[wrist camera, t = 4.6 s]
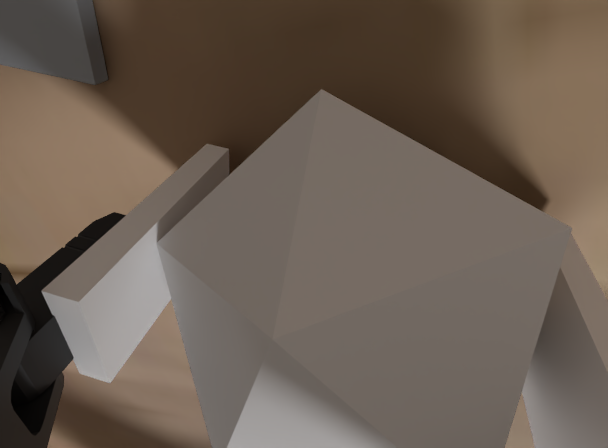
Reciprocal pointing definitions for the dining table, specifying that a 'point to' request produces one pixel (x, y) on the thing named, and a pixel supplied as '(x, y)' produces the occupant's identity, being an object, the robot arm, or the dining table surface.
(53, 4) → the mat
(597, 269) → the dining table surface
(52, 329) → the robot arm
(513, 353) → the die
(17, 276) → the dining table surface
